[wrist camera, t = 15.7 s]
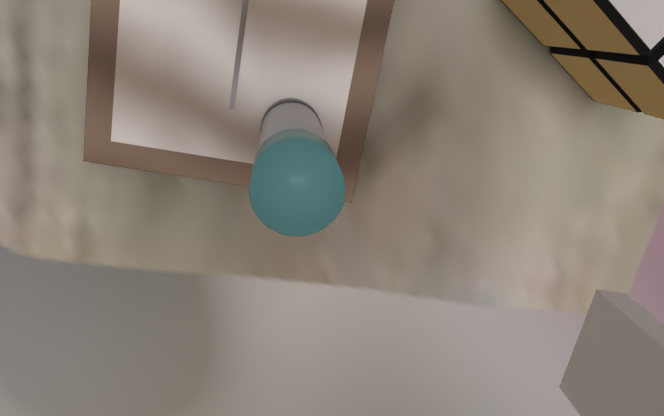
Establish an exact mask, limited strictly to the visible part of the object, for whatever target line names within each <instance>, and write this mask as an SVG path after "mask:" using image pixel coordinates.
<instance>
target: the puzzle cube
mask: <svg viewBox="0 0 664 416" xmlns="http://www.w3.org/2000/svg"><path fill="white" fill-rule="evenodd" d="M502 1H503V2H504V3H505V4H506V5H507V7H508V8H509V9H510V10H511V11H512V12H513V13H514V14H515V15H516V16H517V17H518V18H519V20H520V21H521V22H522V23H523V24H524V25H525V26H526V27H527V28H528V29H529V30H530V31H531V33H532V34H533V35H534V36H535V37H536V38H537V39H538V40H539V41H540V42H541V43H542V44H543V46H551V54H552V55H553V57H554V58H555V59H556V60H557V61H558V62H559V63H560V64H561V65H562V66H563V67H564V68H565V69H566V71H567V72H568V73H569V74H570V75H571V76H572V77H573V78H574V79H575V80H576V81H577V82H578V84H579V85H580V86H581V87H582V88H583V89H584V90H585V91H586V92H587V93H588V94H589V95H590V97H591V98H592V99H593V100H594V101H596V102H600V103H604V104H608V105H612V106H616V107H619V108H623V109H627V110H631V111H635V112H643V113H644V114H647V115H651V116H654V117H658V118H662V119H664V0H502Z"/></svg>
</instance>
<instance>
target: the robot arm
mask: <svg viewBox="0 0 664 416" xmlns="http://www.w3.org/2000/svg"><path fill="white" fill-rule="evenodd" d="M560 389H561V390H562V391H563V392H564V394H565V395H566V397H567V398H568V399H569V401H570V402H571V403H572V405H573V406H574V407H575V409H576V410H577V411H578V413H579V414H580V415H581V416H664V324H663V323H662V322H661V321H659V320H658V319H657V318H656V317H655V316H653V315H652V314H651V313H650V312H648V311H647V310H646V309H645V308H643V307H642V306H641V305H640V304H638V303H637V302H636V301H635V300H633V299H632V298H631V297H630V296H628V295H627V294H626V293H619V292H612V291H605V290H597V289H596V292H595V295H594V297H593V300H592V303H591V305H590V308H589V310H588V313H587V316H586V318H585V321H584V324H583V326H582V329H581V331H580V334H579V337H578V339H577V342H576V345H575V347H574V350H573V352H572V355H571V358H570V360H569V363H568V366H567V368H566V371H565V373H564V376H563V379H562V381H561V384H560Z"/></svg>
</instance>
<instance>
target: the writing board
mask: <svg viewBox="0 0 664 416" xmlns="http://www.w3.org/2000/svg"><path fill="white" fill-rule="evenodd" d="M393 3H394V0H91V19H90V39H89V59H88V79H87V99H86V119H85V139H84V160H83V161H86V162H92V163H98V164H105V165H111V166H118V167H124V168H131V169H137V170H144V171H150V172H157V173H163V174H170V175H176V176H183V177H189V178H196V179H202V180H209V181H215V182H221V183H228V184H234V185H241V186H247V187H249V185H250V180H251V174H252V168H253V163H254V158H255V155H256V153H257V151H258V146H259V140H260V128H261V122H262V118H263V116H264V114H265V112H266V110H267V109H268V108H269V107H270V106H271V105H272V104H274V103H275V102H277V101H279V100H282V99H286V98H295V99H300V100H302V101H304V102H306V103H308V104H309V105H310V106H312V107H313V109H314V110H315V111H316V113H317V114H318V117H319V119H320V122H321V125H322V129H323V132H324V135H325V137H326V140H327V142H328V144H329V145H330V147H331V148H332V150H333V152H334V154H335V157H336V159H337V162H338V164H339V167H340V169H341V172H342V174H343V177H344V181H345V199H344V202H351V201H352V197H353V192H354V187H355V182H356V178H357V173H358V168H359V164H360V159H361V154H362V149H363V145H364V140H365V135H366V130H367V126H368V121H369V116H370V112H371V107H372V102H373V97H374V93H375V88H376V83H377V78H378V74H379V69H380V64H381V59H382V55H383V50H384V45H385V41H386V36H387V31H388V26H389V22H390V17H391V12H392V7H393Z"/></svg>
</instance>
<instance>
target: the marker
mask: <svg viewBox="0 0 664 416" xmlns="http://www.w3.org/2000/svg"><path fill="white" fill-rule="evenodd" d="M249 196H250V201H251V205H252V207H253V210H254V212H255V213H256V215H257V216H258V218H259V219H260V220H261V221H262V222H263V223H264V224H265V225H266V226H267V227H269V228H270V229H272V230H274V231H276V232H278V233H281V234H284V235H289V236H305V235H310V234H313V233H316V232H318V231H320V230H322V229H324V228H325V227H327V226H328V225H329V224H330V223H331V222H332V221H333V220H334V219H335V218H336V217H337V215H338V214H339V212H340V210H341V208H342V206H343V203H344V199H345V181H344V177H343V174H342V172H341V169H340V167H339V164H338V162H337V159H336V157H335V154H334V152H333V150H332V148H331V147H330V145H329V144H328V142H327V140H326V137H325V135H324V132H323V129H322V125H321V122H320V119H319V117H318V114H317V113H316V111H315V110H314V109H313V107H312V106H310V105H309V104H308V103H306V102H304V101H302V100H300V99H295V98H286V99H282V100H279V101H277V102H275V103H274V104H272V105H271V106H270V107H269V108H268V109H267V110H266V112H265V114H264V116H263V118H262V122H261V128H260V140H259V146H258V151H257V153H256V155H255V158H254V163H253V168H252V174H251V180H250V185H249Z"/></svg>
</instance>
